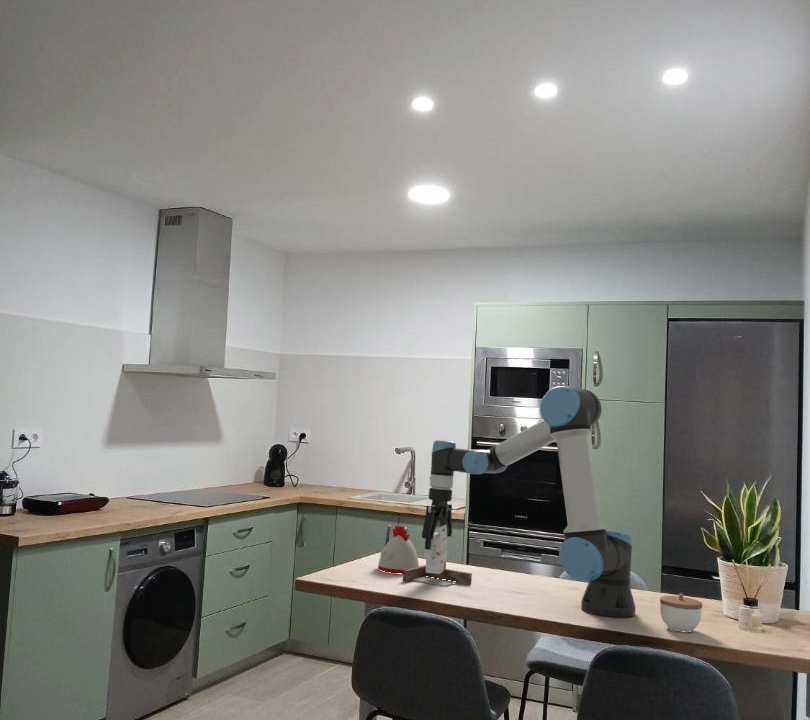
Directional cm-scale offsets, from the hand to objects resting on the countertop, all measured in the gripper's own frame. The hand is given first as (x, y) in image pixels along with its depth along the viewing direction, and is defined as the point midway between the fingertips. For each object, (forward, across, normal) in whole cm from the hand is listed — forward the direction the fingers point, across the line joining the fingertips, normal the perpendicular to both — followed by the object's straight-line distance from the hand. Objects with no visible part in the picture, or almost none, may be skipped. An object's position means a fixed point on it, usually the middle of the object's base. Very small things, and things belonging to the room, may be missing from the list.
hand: (435, 557), depth 245 cm
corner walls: (+8, +1, +2) cm, 8 cm away
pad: (+8, 0, 0) cm, 8 cm away
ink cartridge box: (+4, 0, 0) cm, 4 cm away
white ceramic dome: (+8, -7, -18) cm, 21 cm away
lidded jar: (+7, +3, +76) cm, 77 cm away
